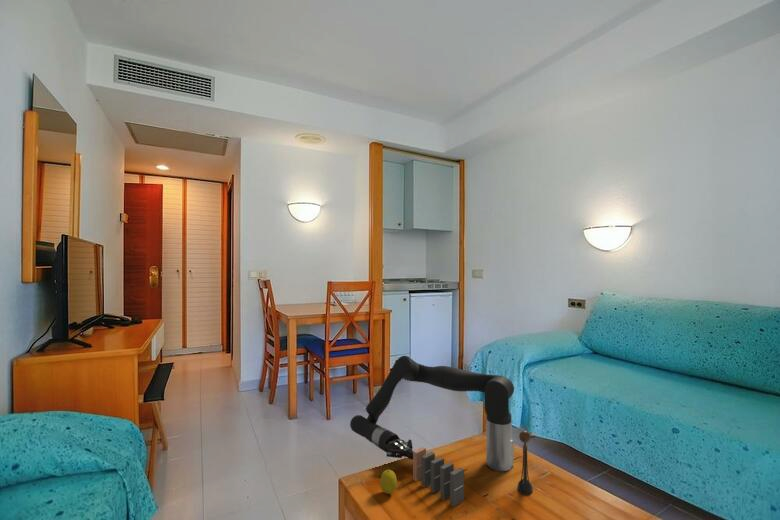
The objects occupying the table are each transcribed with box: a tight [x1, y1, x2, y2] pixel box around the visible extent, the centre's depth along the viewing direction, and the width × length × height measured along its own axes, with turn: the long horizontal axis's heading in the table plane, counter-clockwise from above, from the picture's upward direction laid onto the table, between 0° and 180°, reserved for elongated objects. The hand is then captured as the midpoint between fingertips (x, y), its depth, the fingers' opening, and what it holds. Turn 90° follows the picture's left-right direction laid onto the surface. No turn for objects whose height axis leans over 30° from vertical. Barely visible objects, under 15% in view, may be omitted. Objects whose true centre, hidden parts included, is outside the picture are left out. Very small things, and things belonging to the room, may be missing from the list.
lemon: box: [379, 469, 398, 495], centre depth 121 cm, size 6×6×8 cm
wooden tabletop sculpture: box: [517, 430, 536, 495], centre depth 124 cm, size 6×5×20 cm
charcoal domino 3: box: [439, 461, 455, 501], centre depth 120 cm, size 2×5×10 cm, turn 130°
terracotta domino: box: [412, 446, 427, 482], centre depth 130 cm, size 2×5×10 cm, turn 131°
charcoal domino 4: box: [449, 466, 465, 508], centre depth 117 cm, size 2×5×10 cm, turn 130°
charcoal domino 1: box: [421, 451, 436, 488], centre depth 127 cm, size 2×5×10 cm, turn 129°
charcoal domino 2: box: [430, 456, 445, 494], centre depth 124 cm, size 2×5×10 cm, turn 130°
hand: (415, 457), depth 132 cm, fingers closed
